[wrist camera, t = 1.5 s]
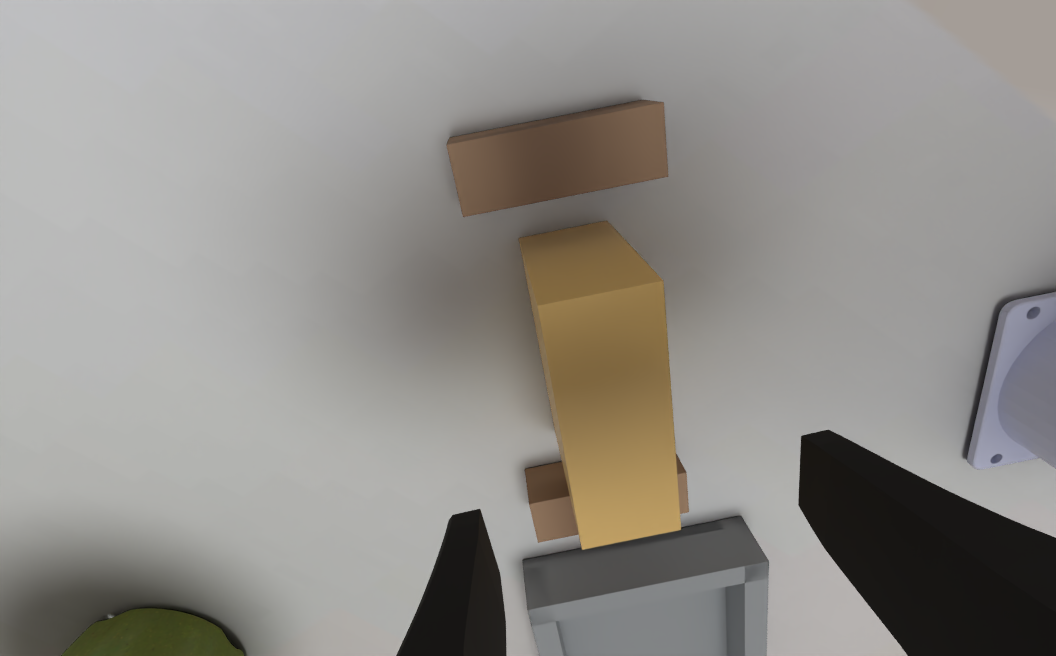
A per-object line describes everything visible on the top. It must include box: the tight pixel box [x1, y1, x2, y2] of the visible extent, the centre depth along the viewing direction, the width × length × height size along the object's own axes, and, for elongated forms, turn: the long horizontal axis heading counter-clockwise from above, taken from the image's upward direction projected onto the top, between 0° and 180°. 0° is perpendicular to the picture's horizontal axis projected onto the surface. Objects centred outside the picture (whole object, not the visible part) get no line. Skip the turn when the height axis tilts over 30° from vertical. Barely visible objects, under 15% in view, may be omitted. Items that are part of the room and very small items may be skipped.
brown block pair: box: [447, 100, 689, 543], centre depth 19 cm, size 6×15×2 cm, turn 10°
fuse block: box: [519, 221, 681, 550], centre depth 17 cm, size 3×8×6 cm, turn 10°
